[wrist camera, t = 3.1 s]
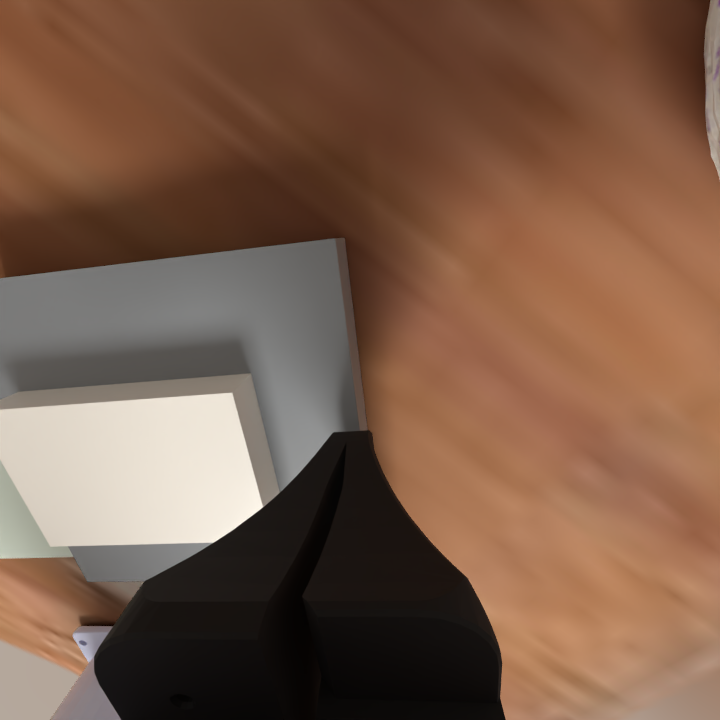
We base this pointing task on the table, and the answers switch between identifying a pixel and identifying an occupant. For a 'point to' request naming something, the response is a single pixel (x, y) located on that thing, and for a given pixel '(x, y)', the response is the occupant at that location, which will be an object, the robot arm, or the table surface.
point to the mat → (21, 526)
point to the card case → (139, 460)
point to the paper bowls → (713, 80)
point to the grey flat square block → (196, 349)
